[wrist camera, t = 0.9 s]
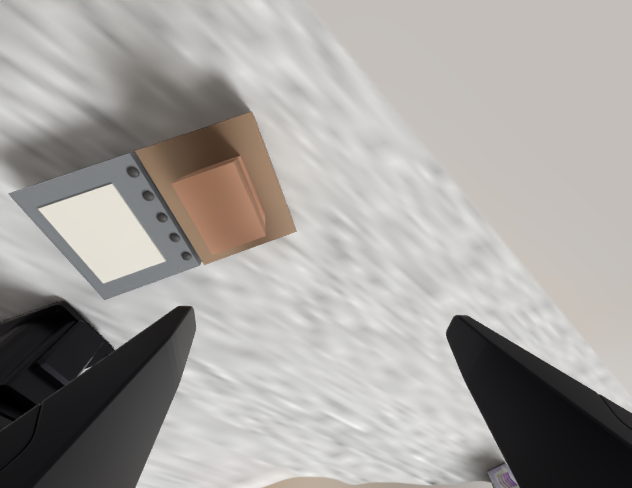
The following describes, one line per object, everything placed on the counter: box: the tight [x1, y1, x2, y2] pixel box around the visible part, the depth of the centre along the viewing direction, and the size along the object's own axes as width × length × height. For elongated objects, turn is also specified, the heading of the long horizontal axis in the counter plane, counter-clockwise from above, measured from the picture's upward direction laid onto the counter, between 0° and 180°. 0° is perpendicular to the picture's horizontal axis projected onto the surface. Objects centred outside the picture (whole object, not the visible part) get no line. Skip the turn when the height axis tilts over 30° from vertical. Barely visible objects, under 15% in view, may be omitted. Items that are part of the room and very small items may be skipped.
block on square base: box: [135, 112, 297, 265], centre depth 15 cm, size 7×8×6 cm
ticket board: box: [9, 152, 202, 300], centre depth 17 cm, size 7×8×3 cm
